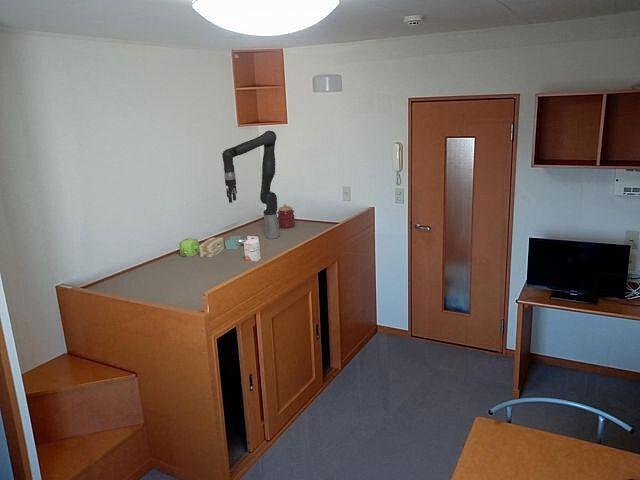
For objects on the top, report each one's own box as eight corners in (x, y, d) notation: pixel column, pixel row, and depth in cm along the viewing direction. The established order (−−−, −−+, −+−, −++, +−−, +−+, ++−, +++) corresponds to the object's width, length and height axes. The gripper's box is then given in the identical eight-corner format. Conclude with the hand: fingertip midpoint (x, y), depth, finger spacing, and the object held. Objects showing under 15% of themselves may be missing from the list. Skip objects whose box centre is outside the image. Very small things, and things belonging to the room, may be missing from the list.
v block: (243, 243, 373) (242, 236, 372) (237, 248, 361) (236, 241, 360) (232, 243, 375) (231, 236, 374) (225, 249, 363) (224, 241, 361)
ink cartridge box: (245, 260, 333) (242, 237, 329) (249, 258, 337) (246, 235, 334) (256, 261, 329) (254, 238, 326) (261, 259, 334) (258, 236, 330)
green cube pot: (191, 259, 346) (189, 245, 344) (177, 258, 349) (175, 244, 346) (203, 250, 363) (202, 237, 360) (189, 250, 365) (188, 236, 363)
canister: (294, 228, 408) (292, 205, 404) (277, 229, 409) (275, 206, 404) (295, 224, 421) (293, 202, 416) (279, 225, 421) (277, 203, 417)
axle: (249, 242, 368) (249, 237, 366) (248, 245, 364) (247, 239, 363) (225, 243, 371) (224, 237, 369) (223, 245, 367) (222, 240, 366)
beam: (224, 248, 365) (223, 237, 363) (213, 256, 346) (212, 245, 344) (211, 248, 367) (210, 237, 365) (200, 256, 348) (199, 245, 346)
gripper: (231, 180, 366) (234, 203, 370) (238, 176, 380) (241, 199, 384) (221, 180, 368) (224, 203, 372) (228, 177, 381) (231, 199, 385)
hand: (232, 201), depth 378 cm, fingers open, 8 cm apart
